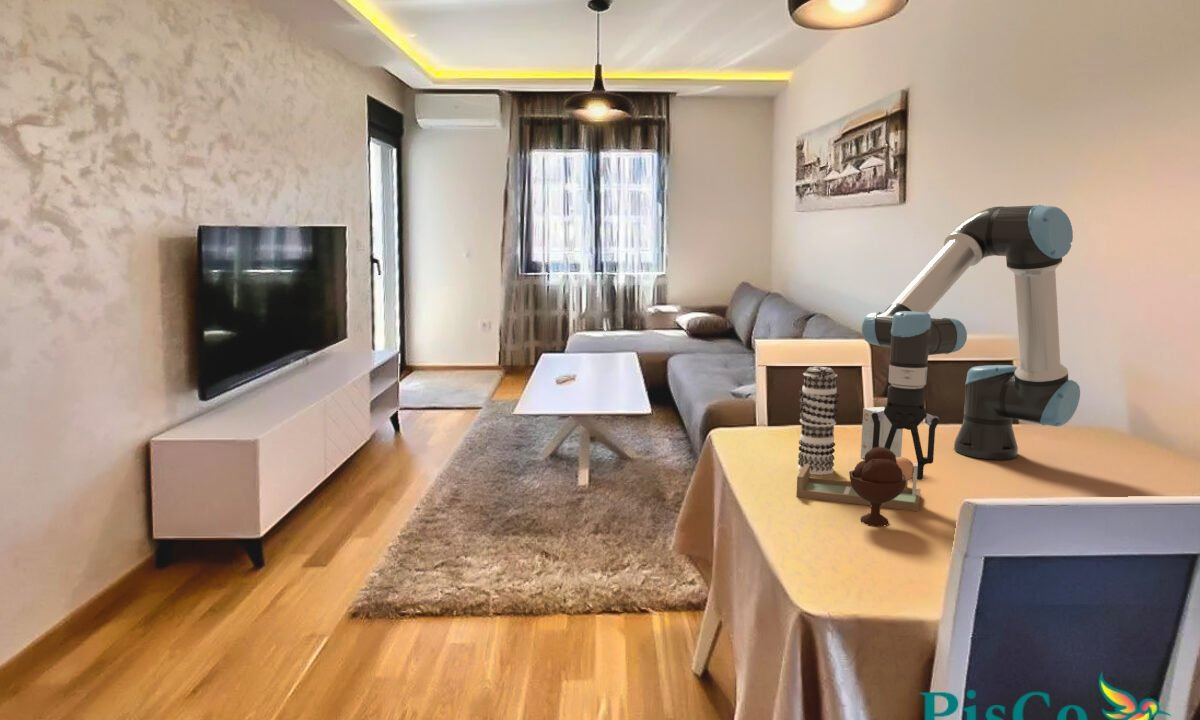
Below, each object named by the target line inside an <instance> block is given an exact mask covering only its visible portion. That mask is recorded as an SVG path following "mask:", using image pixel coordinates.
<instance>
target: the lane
mask: <svg viewBox="0 0 1200 720" xmlns="http://www.w3.org/2000/svg"><path fill="white" fill-rule="evenodd" d="M796 479H797V480H796V494H795V495H796V497H798V498H799V497H800V498H806V499H814V500H823V501H831V502H839V503H846V504H853V505H854V504H855V505H856V504H857V505H862V506H863V505H865V506H870V507H871V503H870V502H869V501H867V500H865V499H863V498H862V497H860V496H859V495H858V494H857V493H856V492H855V491H854V490H853V487H852V485H851V481H850V480H839V479H832V478H823V477H815V476H810V464H804V466H803V468H802V469H801V471H799V473H798V474H797V478H796ZM920 498H921V489H920V488H916V496H913V495H912V487H911V488H910V487H907V488H904V490H903V491H902V493H901V494H900V495H898V496H897V497H896V498H894V499H892V500H890V501H888V502H885V503H882V504H881V506H880V508H881V507H882V508H887V509H889V508H890V509H896V510H904V511H911V512H912V511H913V512H920V500H921V499H920Z"/></svg>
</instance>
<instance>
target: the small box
mask: <svg viewBox="0 0 1200 720" xmlns="http://www.w3.org/2000/svg"><path fill="white" fill-rule="evenodd" d="M885 407H886V406H885ZM885 407H884V406H875V407H873V406H872V407H863V408H862V409H863V410H862V424H861V426H862V427H861V440H860V441H861V445H860V446H861V447H860V458H861V459H864V460H865V454H866V453H867V452H869V451H870V450H871V449H872V444H873V430H874V422H873V419H872V413H873V411H881V410H884V409H885ZM891 426H892V424H891V423H890V421H889V420H888V418H887V417H886V415H884V416H883V420H882V421H880V438H879V447H884V446H885V443H886V440H887V437H888V435H889V432H890V429H891ZM903 430H904V429H897V431H896V433H895V436H894V439H893V442H892V445H891V448H890V451H892V452H893V453H894V454H895V456H896V458H897V457H902V447H903V446H902V445H903Z"/></svg>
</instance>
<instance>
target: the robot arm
mask: <svg viewBox="0 0 1200 720" xmlns="http://www.w3.org/2000/svg"><path fill="white" fill-rule="evenodd" d="M1073 233H1074V232H1073V226H1072V222H1071V219H1070V218H1069V216H1068V214H1067V213H1066V212H1065V211H1064V210H1062V209H1061V208H1060V207H1057V206H1053V205H1052V206H1051V205H1048V206H1047V205H1041V204H1038V205H1019V206H1018V205H1017V206H1016V205H1015V206H1002V205H1001V206H993V207H989V208H986V209H983V210H981V211H979V212H977V213H975V214H973V215H971V216H970V217H968V218H967V219H965V220H963V222H961V223H960V224H959V225H957V226H956V227H955V228H954V229H952V231H951V232H950V233H949V234H948V235H947V237H945V239H944V242H943V247H942V248H941V249H940V250H939V251H938V252H937V253H936V255H935V256H934V257H933V258H931V260H930V261H929V262H928V263H927V264H926V265H925V267H924V268H923V269H922V270H921V271H920V272H919V273H918V274H917V276H915V277H914V278H913V279H912V281H911V282H910V283H909V284H908V285H907V286H906V287H905V289H903V291H902V292H901V293H899V295H897V297H896V298H895V299H894V300H893V301H892V303H891V304H889V306H888V307H887V308H886V309H885V310H884V311H883V312H882V311H881V312H880V311H877V312H871V313H869V314H868V313H867V315H866V316H865V318H864V319H863V322H862V325H861V334H862V337H863V339H864V341H866V343H868V344H870V345H875V346H878V347H881V348H890V354H889V355H890V356H889V366H888V383H889V385H887V386H888V387H887V394H886V395H887V397H886V398H887V399H886V405H885V409H884V410H881V411H873V413H872V419H873V422H874V430H873V444H872V448H876V447H879V438H880V421H882V420H883V416H884V415H886V417H887V418H888V420H889V421H890V423H891V424H892V426H891V429H890V432H889V435H888V437H887V440H886V443H885V446H884V447H885V448H887V449H889V450H890V448H891V445H892V442H893V439H894V436H895V433H896V431H897V429H903V430H908V431H910V433H911V438H912V443H913V446H914V447H913V448H914V452H915V455H916V456H915V457H916V462H914V463H913V466H914V472H913V475H912V487H911V488H912V495H913V496H916V489H917V486H918V485H917V483H918V481H922V480H923V479H924V466H926V465H929V464H930V465H931V464H933V463H934V455H935V453H934V452H935V439H936V437H935V435H936V429H937V426H938V425H939V422H940V420H939V419H940V418H939V416H938V415H932V414H929V413H927V409H926V391H927V389H926V388H925V386H926V385H927V382H928V381H927V379H928V378H927V377H928V362H929V356H933V355H935V356H936V355H949V354H952V353H956V352H958V351H960V350H961V349H962V348H963V347H965V344H966V343H967V338H968V331H967V329H966V326H965V325H964V323H962V322H961V321H960V320H958V319H956V318H948V317H943V318H934V317H933V318H932V317H931V315H930V314H929V312H930V311H931V310H932V309H933V308H934V307H935V305H936V304H937V303H938V302H939V301H940V300H941V299H942V298H943V297H944V296H945V294H946V293H947V292H948V291H949V290H950V289H951V288H952V286H953V285H955V283H956V282H957V281H958V280H959V279H960V277H962V275H963V274H964V273H965V272H966V271H967V270H968V269H969V268H970V267H974V266H976V265H977V264H979V263H980V262H981V261H982V260H983V259H984V258H988V257H992V256H993V257H994V256H999V257H1005V258H1006V259H1005V261H1006V268H1007V269H1008V270H1009V271H1011V272H1013V274H1014V286H1015V290H1014V291H1015V301H1016V315H1017V316H1016V317H1017V331H1018V344H1019V346H1018V347H1019V359H1020V366H1019V365H1018V367H1017V366H1016V365H1012V364H1004V365H1003V364H995V365H994V364H990V365H989V364H988V365H978V366H977V365H976V366H971V368H969V369H968V371H967V373H966V379H965V394H964V395H965V396H964V408H963V420H962V424H961V425H960V428H959V431H958V433H957V435H956V437H955V440H954V444H953V446H954V447H953V450H954V451H955V452H956V453H958V454H961V455H963V456H967V457H971V458H975V459H984V460H994V461H995V460H999V461H1001V460H1005V461H1006V460H1012V459H1015V458H1017V457H1018V453H1019V451H1018V450H1019V447H1018V444H1017V440H1016V436H1015V431H1014V428H1013V421H1014V420H1019V421H1023V422H1029V423H1034V424H1038V425H1041V426H1050V427H1062V426H1064V425H1066V424H1067V423H1069V421H1070V420H1071V419H1072V417H1074V415H1075V413H1076V410H1077V409H1078V406H1079V403H1080V397H1081V388H1080V385H1079V383H1078V382H1077V381H1075V380H1073V379H1069V369H1068V368H1067V367H1066V366H1064V364H1063V363H1061V353H1060V352H1061V351H1060V350H1061V349H1060V333H1059V330H1060V329H1059V313H1058V295H1057V277H1056V276H1057V275H1056V274H1057V273H1056V269H1057V268H1058V267H1059V266H1060V265H1061V264H1062V263H1063V258H1064V257H1065V256H1066V255H1067V254H1069V252H1070V250H1071V248H1072V243H1073V240H1074V239H1073ZM924 420H926V424H927V426H928V437H927V439H928V440H927V455H926V456H924V454H923V449H922V444H921V440H920V434H919V427H918V426H919V425H920V424H921V423H922V422H923V421H924Z"/></svg>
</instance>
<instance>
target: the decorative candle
mask: <svg viewBox="0 0 1200 720" xmlns="http://www.w3.org/2000/svg"><path fill="white" fill-rule="evenodd" d="M802 375H803V385H802V389H800V390H799V392H798V393H799V396H801V397H800V399H799V403H800V405H799V410H800V411H801V412H800V413H799V418H800V419H799V422H800V424H801V426H800V427H801V428H800V429H801V430H800V431H801V433H800V437H799V438H800V439H799V440H798V444H799V447H798V450H799V453H798V454H797V455H798V460H797V464H798V466H797V469H798V471H799V472H800V471H801V469H802V468H803V466H804V464H810V474H811V475H816V476H817V475H818V476H819V475H822V476H823V474H824V475H829V474H833V472H834V468H833V467H834V466H835V463H834V460H835V455H833V454H834V453H835V452H836V451H835V448H834V447H835V446H836V443H835V434H834V432H835V426H836V424H837V421H835V419H837V418H838V416H837V415H836V414H835V413H837V412H838V408H836V407H835V406H836V405H838V404H839V400H837V398H839V397H840V394H838V393H837V390H838V389H837V386H836V385H837V377H838V374H836V373H835V371H834V369H832V368H831V367H829V366H828V367H827V366H819V365H818V366H809V367H807V369H806V370H805V372H803V373H802Z"/></svg>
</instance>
